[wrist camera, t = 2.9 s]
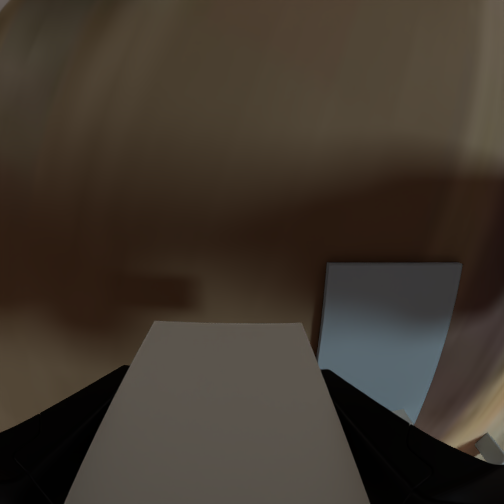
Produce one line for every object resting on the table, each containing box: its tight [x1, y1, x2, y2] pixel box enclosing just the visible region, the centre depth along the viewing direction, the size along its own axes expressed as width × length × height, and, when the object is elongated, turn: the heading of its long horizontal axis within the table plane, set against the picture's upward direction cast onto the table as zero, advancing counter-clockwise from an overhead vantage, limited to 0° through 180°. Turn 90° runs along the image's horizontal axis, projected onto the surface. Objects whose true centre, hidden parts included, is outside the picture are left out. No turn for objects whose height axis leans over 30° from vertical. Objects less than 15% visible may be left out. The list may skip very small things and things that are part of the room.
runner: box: [316, 262, 463, 425], centre depth 18 cm, size 30×8×1 cm, turn 179°
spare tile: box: [64, 321, 370, 504], centre depth 6 cm, size 2×5×8 cm, turn 89°
